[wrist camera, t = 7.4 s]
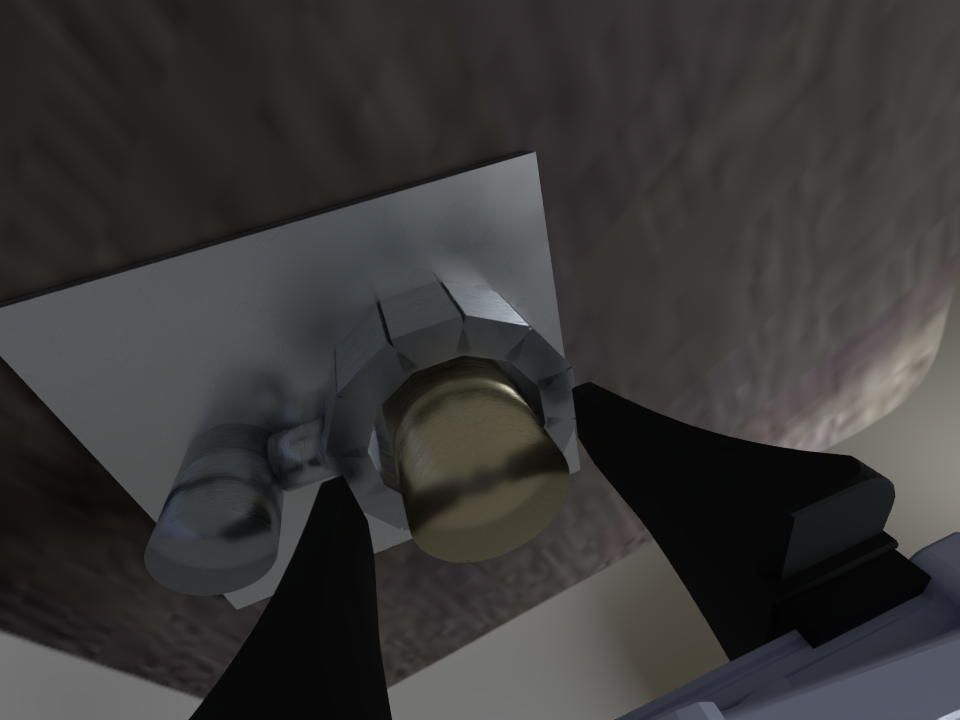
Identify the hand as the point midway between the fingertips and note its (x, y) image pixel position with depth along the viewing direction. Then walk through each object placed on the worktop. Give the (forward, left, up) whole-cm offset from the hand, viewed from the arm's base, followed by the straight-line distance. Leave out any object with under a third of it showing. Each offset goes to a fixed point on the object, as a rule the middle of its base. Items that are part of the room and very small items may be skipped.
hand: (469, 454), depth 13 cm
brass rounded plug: (0, 0, -4) cm, 4 cm away
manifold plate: (-3, 0, -5) cm, 6 cm away
